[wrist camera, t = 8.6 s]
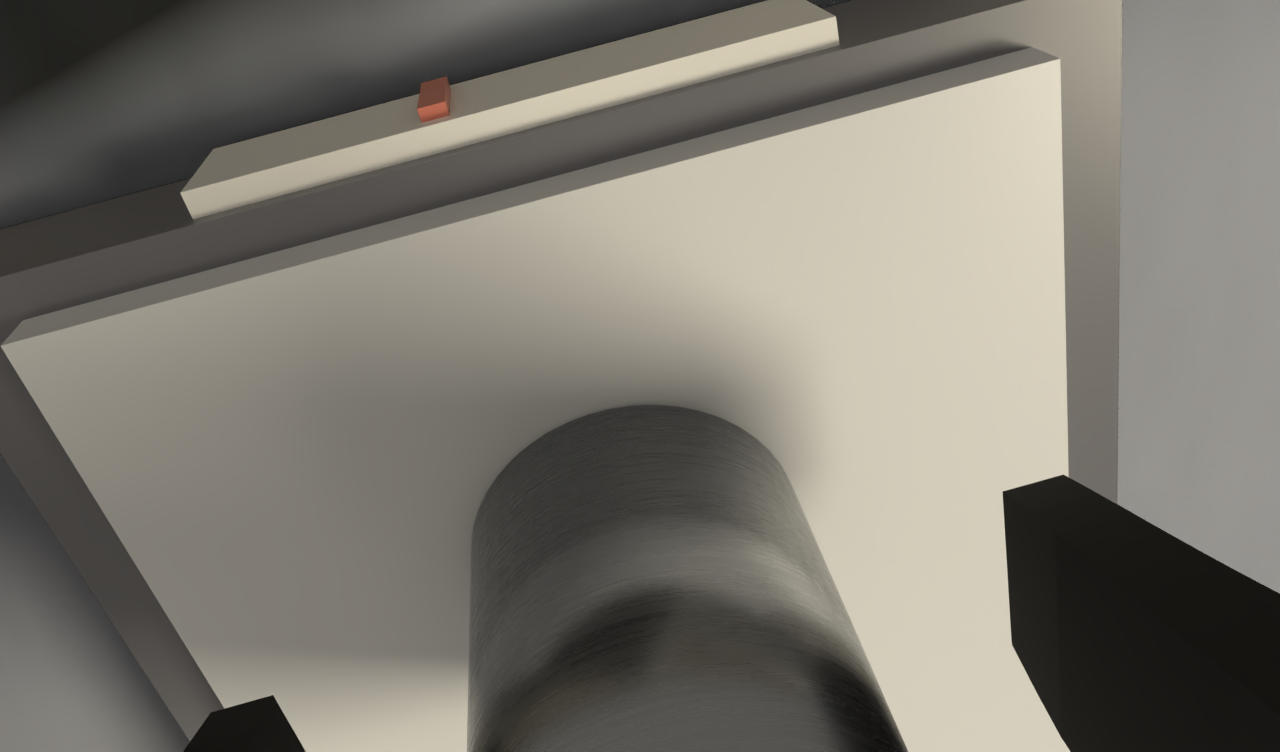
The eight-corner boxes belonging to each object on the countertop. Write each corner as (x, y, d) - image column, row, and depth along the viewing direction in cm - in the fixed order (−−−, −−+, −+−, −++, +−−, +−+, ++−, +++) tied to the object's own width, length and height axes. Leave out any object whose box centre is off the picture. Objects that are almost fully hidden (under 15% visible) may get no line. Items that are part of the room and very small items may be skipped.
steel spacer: (785, 374, 12) (1024, 847, 6) (809, 631, 14) (1007, 1149, 8) (433, 444, 11) (389, 986, 6) (511, 693, 13) (526, 1259, 8)
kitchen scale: (1029, -88, 12) (1157, -66, 10) (1061, 887, 22) (1129, 1010, 20) (-39, 199, 12) (-156, 288, 10) (468, 1056, 22) (468, 1201, 19)
